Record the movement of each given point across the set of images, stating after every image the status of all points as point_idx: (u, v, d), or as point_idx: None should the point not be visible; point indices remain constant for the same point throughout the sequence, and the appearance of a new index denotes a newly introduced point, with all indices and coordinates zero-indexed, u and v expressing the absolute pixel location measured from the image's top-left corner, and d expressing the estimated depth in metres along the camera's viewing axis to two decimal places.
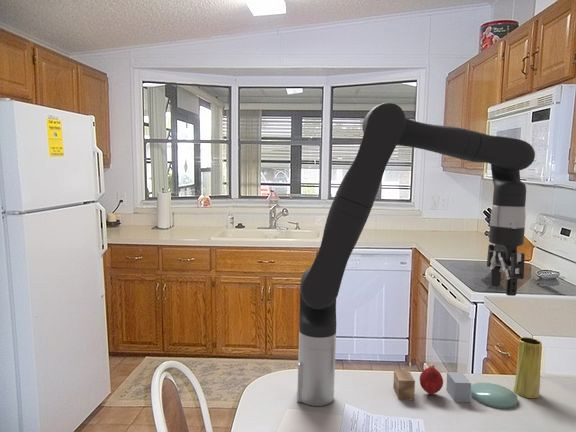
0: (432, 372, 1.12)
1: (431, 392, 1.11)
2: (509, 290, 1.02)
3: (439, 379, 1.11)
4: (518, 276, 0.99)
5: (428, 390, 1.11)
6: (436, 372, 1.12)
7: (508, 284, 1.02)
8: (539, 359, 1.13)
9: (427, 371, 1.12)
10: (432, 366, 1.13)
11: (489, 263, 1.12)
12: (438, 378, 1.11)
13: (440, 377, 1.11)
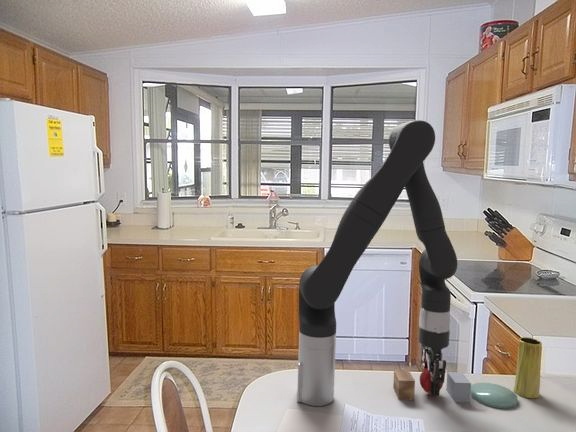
0: None
1: None
2: (432, 391, 1.09)
3: None
4: (439, 380, 1.07)
5: (428, 390, 1.11)
6: None
7: (432, 385, 1.09)
8: (539, 359, 1.13)
9: (427, 371, 1.12)
10: (432, 366, 1.13)
11: (422, 360, 1.18)
12: None
13: None
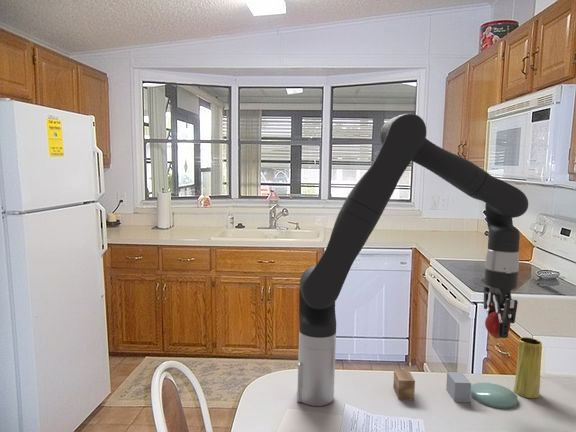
0: None
1: None
2: (501, 333, 1.07)
3: None
4: (509, 320, 1.05)
5: (496, 333, 1.09)
6: None
7: (500, 327, 1.08)
8: (539, 359, 1.13)
9: (494, 314, 1.10)
10: None
11: (486, 305, 1.16)
12: None
13: None
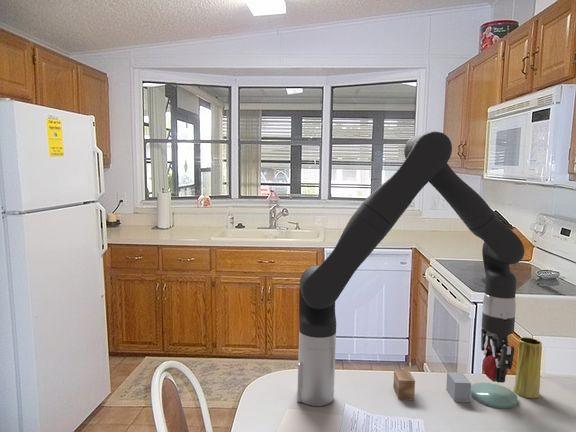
0: None
1: None
2: (498, 377, 1.08)
3: None
4: (506, 366, 1.06)
5: (493, 377, 1.10)
6: None
7: (497, 372, 1.09)
8: (539, 359, 1.13)
9: (491, 357, 1.11)
10: None
11: (483, 347, 1.17)
12: None
13: None
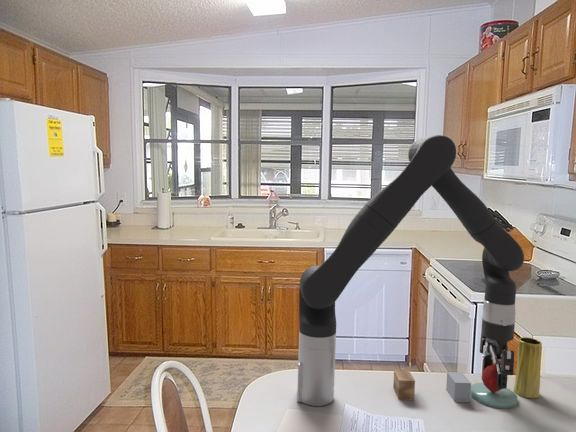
0: (496, 369, 1.11)
1: (495, 390, 1.11)
2: (500, 384, 1.08)
3: None
4: (508, 372, 1.05)
5: (492, 387, 1.11)
6: None
7: (499, 378, 1.08)
8: (539, 359, 1.13)
9: (491, 368, 1.12)
10: None
11: (482, 350, 1.18)
12: None
13: None
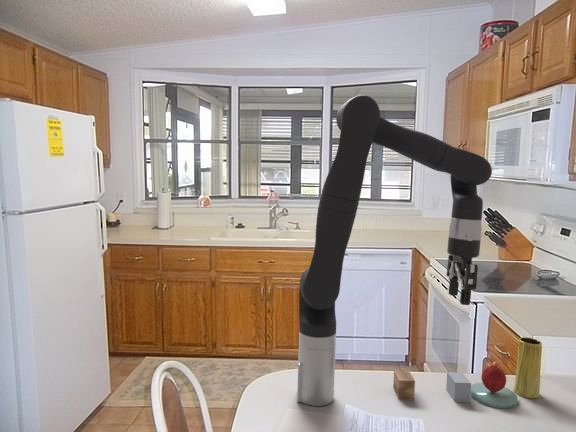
0: (496, 370, 1.11)
1: (495, 390, 1.11)
2: (463, 299, 1.06)
3: (503, 377, 1.10)
4: (470, 286, 1.03)
5: (492, 388, 1.11)
6: (499, 370, 1.11)
7: (462, 294, 1.06)
8: (539, 359, 1.13)
9: (490, 369, 1.12)
10: (495, 364, 1.12)
11: (448, 273, 1.16)
12: (502, 376, 1.10)
13: (504, 375, 1.11)
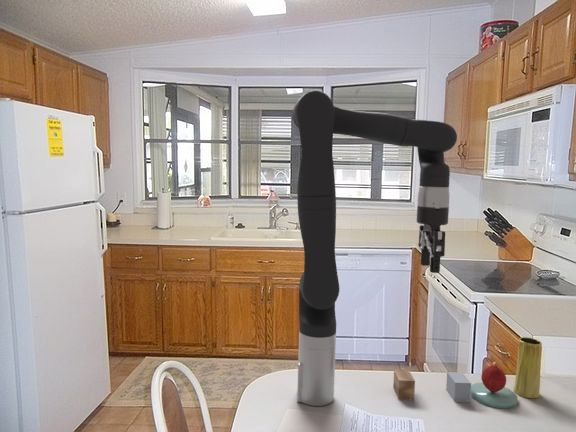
0: (496, 370, 1.11)
1: (495, 390, 1.11)
2: (432, 267, 1.06)
3: (503, 377, 1.10)
4: (439, 253, 1.03)
5: (492, 388, 1.11)
6: (499, 370, 1.11)
7: (431, 262, 1.06)
8: (539, 359, 1.13)
9: (490, 369, 1.12)
10: (495, 364, 1.12)
11: (420, 243, 1.16)
12: (502, 376, 1.10)
13: (504, 375, 1.11)
